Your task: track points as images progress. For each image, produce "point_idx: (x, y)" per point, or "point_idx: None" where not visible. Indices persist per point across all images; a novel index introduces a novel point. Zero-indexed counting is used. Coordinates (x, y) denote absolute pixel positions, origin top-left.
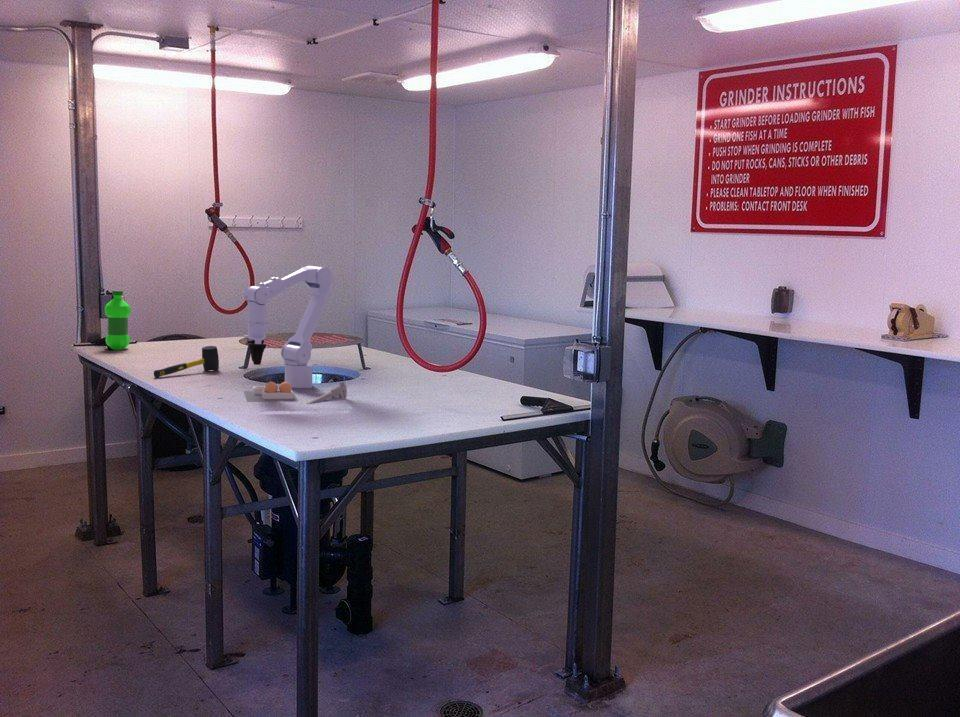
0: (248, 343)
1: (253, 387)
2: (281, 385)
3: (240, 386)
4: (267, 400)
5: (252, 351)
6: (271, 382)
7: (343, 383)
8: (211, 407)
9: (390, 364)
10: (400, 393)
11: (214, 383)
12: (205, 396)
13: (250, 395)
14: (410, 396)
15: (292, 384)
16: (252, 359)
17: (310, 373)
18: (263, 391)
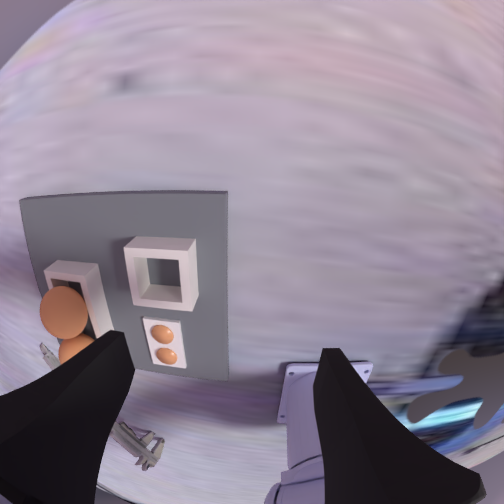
0: (387, 502)
1: (152, 248)
2: (60, 349)
3: (432, 207)
4: (42, 270)
5: (16, 396)
6: (44, 325)
7: (142, 466)
8: (3, 90)
9: (473, 460)
10: (232, 491)
11: (495, 117)
12: (178, 17)
13: (111, 219)
14: (204, 490)
15: (291, 399)
16: (325, 361)
17: (288, 463)
18: (66, 277)
